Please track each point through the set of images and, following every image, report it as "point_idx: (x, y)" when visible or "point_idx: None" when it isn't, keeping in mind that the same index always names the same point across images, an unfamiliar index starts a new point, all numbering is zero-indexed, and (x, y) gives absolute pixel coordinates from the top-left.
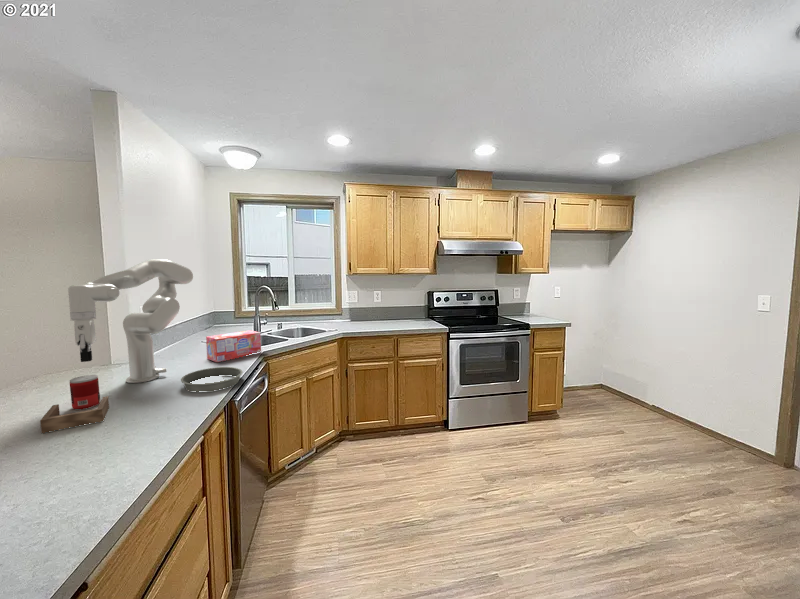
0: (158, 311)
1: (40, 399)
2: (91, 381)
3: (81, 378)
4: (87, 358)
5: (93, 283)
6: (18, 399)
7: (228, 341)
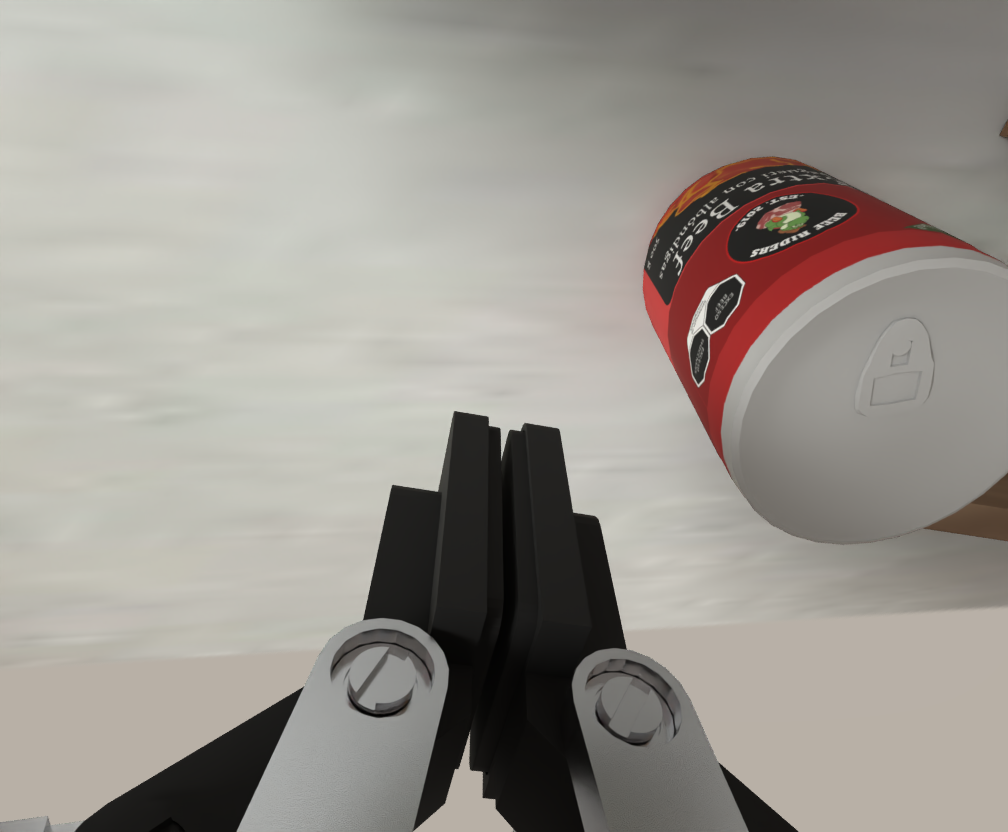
0: None
1: (235, 526)
2: None
3: (813, 435)
4: (590, 535)
5: None
6: (138, 619)
7: None
